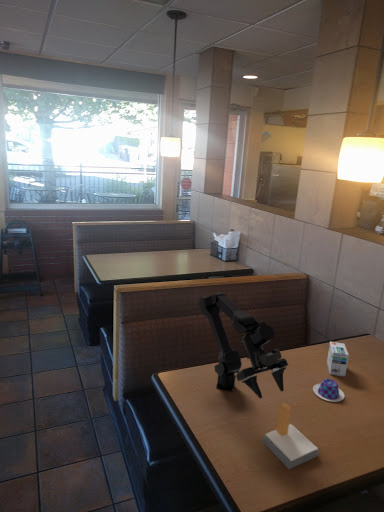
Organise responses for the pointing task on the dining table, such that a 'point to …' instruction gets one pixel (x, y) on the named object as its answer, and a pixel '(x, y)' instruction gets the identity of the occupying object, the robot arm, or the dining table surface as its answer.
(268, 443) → the gray carton
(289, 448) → the lid
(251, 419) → the dining table surface
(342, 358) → the light bulb box
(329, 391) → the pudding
